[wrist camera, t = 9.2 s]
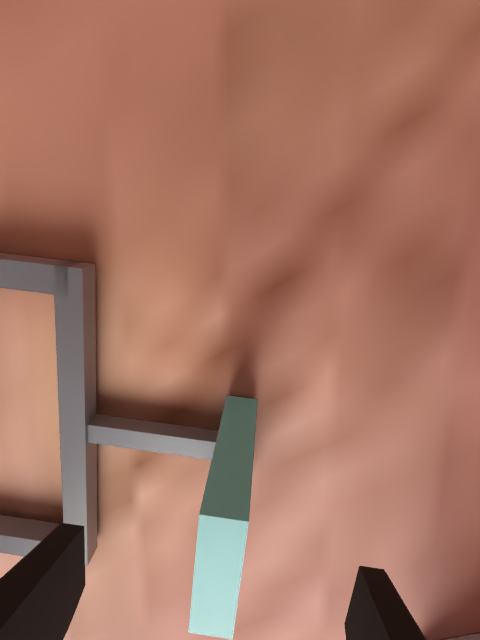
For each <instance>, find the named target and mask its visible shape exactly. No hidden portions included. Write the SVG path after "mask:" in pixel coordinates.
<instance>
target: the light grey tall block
mask: <svg viewBox="0 0 480 640" xmlns="http://www.w3.org/2000/svg"><path fill="white" fill-rule="evenodd" d="M445 640H480V633H477V634H471V635H466V636H461V637H455V638H450V639H445Z"/></svg>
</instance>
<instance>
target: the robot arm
mask: <svg viewBox="0 0 480 640" xmlns="http://www.w3.org/2000/svg"><path fill="white" fill-rule="evenodd" d="M84 587H85V537H84V526H81V525H74V524H67V523H61V524H59V525H58V526H57V527H56V528H55V529H54V530H53V531H51V532H50V533H49V534H48V535H47V536H46V537H45V538H44V539H43V540H42V541H41V542H40V543H39V544H38V545H37V546H36V547H34V548H33V549H32V550H31V551H30V552H29V553H28V554H27V555H26V556H25V557H24V558H23V559H21V560H20V561H19V562H18V563H17V564H16V565H15V566H14V567H13V568H12V569H11V570H9V571H8V572H7V573H6V574H5V575H4V576H3V577H2V578H0V640H63V638H64V636H65V634H66V632H67V630H68V628H69V625H70V623H71V620H72V618H73V615H74V613H75V610H76V608H77V605H78V603H79V600H80V597H81V595H82V592H83V589H84ZM345 632H346V640H426V638H425V636H424V635H423V633H422V632H421V630H420V628H419V627H418V625H417V624H416V622H415V620H414V619H413V617H412V615H411V614H410V612H409V610H408V609H407V607H406V605H405V604H404V602H403V600H402V599H401V597H400V595H399V594H398V592H397V590H396V589H395V587H394V585H393V583H392V582H391V580H390V578H389V577H388V575H387V573H386V572H385V571H384V569H378V568H371V567H364V566H359V570H358V574H357V577H356V581H355V585H354V589H353V593H352V597H351V601H350V605H349V609H348V613H347V617H346V621H345Z"/></svg>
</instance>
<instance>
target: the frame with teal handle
mask: <svg viewBox="0 0 480 640" xmlns="http://www.w3.org/2000/svg"><path fill="white" fill-rule="evenodd" d="M0 288H7V289H15V290H23V291H31V292H40V293H48V294H54V300H55V325H56V350H57V375H58V400H59V425H60V450H61V475H62V500H63V523H67V524H74V525H81V526H84V537H85V566H88V564H89V562H90V560H91V558H92V556H93V554H94V552H95V550H96V548H97V444H101V445H108V446H115V447H123V448H130V449H137V450H144V451H151V452H158V453H166V454H173V455H180V456H187V457H194V458H202V459H209V460H212V461H211V466H210V470H209V474H208V479H207V483H206V487H205V492H204V496H203V500H202V505H201V509H200V514H199V523H198V534H197V545H196V556H195V567H194V578H193V589H192V600H191V611H190V622H189V633H195V634H201V635H208V636H214V637H220V638H227V639H233V632H234V625H235V618H236V610H237V603H238V596H239V589H240V582H241V575H242V567H243V560H244V553H245V546H246V539H247V532H248V524H249V513H250V499H251V485H252V471H253V457H254V443H255V430H256V416H257V402H258V399H251V398H243V397H236V396H228V395H227V396H226V400H225V405H224V409H223V414H222V418H221V422H220V427H219V431H218V430H211V429H203V428H196V427H189V426H181V425H174V424H167V423H159V422H152V421H145V420H137V419H130V418H122V417H115V416H108V415H100V414H96V298H95V264H92V263H83V262H75V261H66V260H58V259H50V258H41V257H33V256H24V255H16V254H8V253H0ZM58 525H59V524H58V523H52V522H45V521H38V520H32V519H25V518H18V517H11V516H5V515H0V553H5V554H12V555H19V556H26V555H27V554H28V553H29V552H30V551H31V550H32V549H33V548H34V547H36V546H37V545H38V544H39V543H40V542H41V541H42V540H43V539H44V538H45V537H46V536H47V535H48V534H49V533H50V532H51V531H53V530H54V529H55V528H56V527H57V526H58Z"/></svg>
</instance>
